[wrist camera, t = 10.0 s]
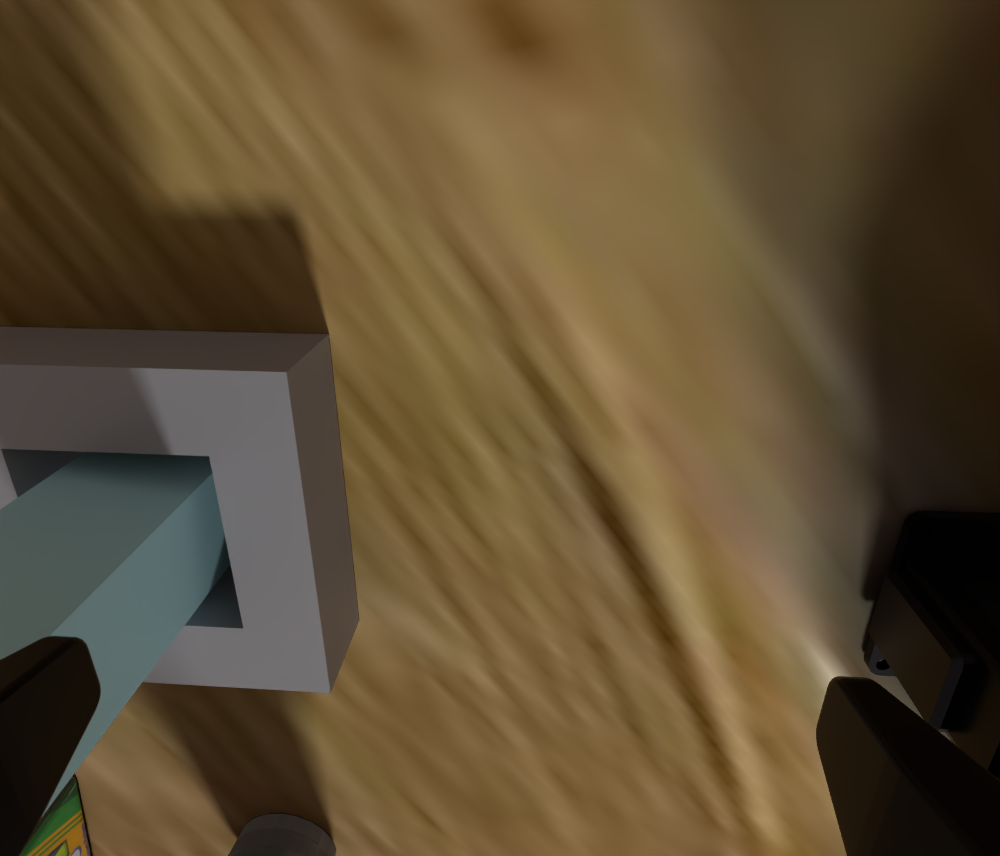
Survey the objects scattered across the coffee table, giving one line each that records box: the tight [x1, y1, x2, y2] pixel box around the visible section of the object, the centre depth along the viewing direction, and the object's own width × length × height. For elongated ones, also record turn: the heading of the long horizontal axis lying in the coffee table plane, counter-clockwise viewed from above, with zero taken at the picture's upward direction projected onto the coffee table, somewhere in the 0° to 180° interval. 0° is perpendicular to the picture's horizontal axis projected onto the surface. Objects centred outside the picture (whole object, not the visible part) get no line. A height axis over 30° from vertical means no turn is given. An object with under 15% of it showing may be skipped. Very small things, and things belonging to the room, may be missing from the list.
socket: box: [0, 327, 359, 693], centre depth 21 cm, size 11×11×4 cm
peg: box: [0, 452, 230, 818], centre depth 17 cm, size 4×4×13 cm
